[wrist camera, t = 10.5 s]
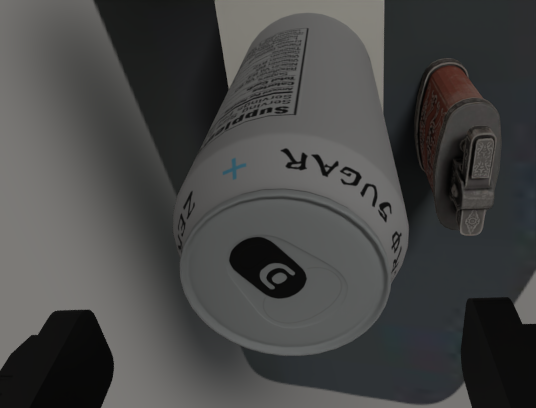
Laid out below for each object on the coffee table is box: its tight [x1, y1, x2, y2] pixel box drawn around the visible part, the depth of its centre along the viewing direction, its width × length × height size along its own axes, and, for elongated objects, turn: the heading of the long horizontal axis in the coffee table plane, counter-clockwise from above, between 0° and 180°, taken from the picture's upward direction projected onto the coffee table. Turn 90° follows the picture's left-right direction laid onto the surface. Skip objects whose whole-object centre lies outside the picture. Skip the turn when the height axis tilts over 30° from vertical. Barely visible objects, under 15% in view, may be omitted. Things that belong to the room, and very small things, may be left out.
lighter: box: [414, 58, 501, 235], centre depth 30 cm, size 8×3×10 cm, turn 6°
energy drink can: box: [173, 13, 409, 356], centre depth 18 cm, size 6×6×15 cm
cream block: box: [215, 0, 384, 111], centre depth 26 cm, size 8×8×4 cm
